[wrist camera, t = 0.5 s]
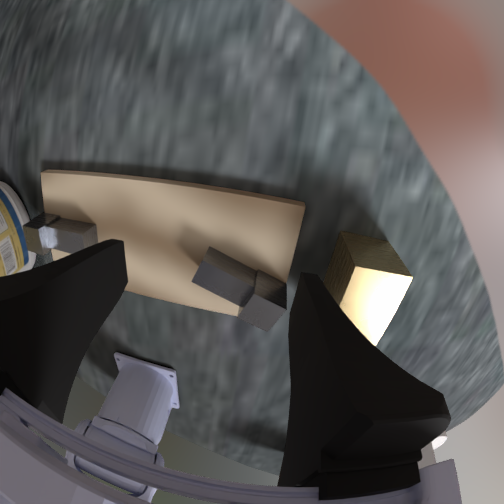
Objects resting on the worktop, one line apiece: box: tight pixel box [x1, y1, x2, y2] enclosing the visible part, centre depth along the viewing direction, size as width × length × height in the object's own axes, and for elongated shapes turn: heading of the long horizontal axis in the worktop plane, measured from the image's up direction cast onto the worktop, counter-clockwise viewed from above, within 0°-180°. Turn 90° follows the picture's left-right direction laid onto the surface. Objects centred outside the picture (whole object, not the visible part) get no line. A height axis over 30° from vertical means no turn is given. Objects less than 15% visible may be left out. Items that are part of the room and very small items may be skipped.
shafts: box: [22, 212, 287, 332], centre depth 19 cm, size 4×22×3 cm, turn 82°
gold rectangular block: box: [323, 231, 413, 346], centre depth 18 cm, size 4×7×5 cm, turn 171°
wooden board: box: [41, 169, 305, 316], centre depth 20 cm, size 10×22×1 cm, turn 81°
